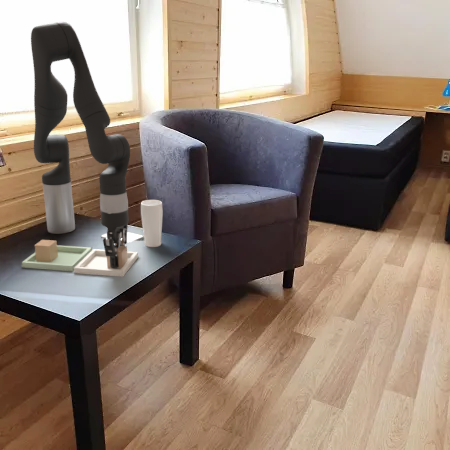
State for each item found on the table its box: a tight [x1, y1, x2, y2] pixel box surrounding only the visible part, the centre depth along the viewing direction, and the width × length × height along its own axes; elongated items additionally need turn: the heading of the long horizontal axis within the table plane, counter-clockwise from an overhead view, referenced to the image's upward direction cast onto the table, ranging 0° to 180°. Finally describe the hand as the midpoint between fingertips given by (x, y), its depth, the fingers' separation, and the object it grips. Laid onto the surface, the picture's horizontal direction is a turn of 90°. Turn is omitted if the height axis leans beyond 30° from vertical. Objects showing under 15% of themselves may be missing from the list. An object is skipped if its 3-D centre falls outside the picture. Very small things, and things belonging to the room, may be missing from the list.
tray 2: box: [73, 248, 139, 278], centre depth 138 cm, size 14×14×2 cm
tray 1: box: [21, 244, 93, 272], centre depth 140 cm, size 14×15×2 cm
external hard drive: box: [100, 231, 144, 243], centre depth 160 cm, size 2×8×12 cm
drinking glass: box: [140, 199, 163, 248], centre depth 151 cm, size 7×7×15 cm
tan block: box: [107, 245, 128, 268], centre depth 136 cm, size 4×4×5 cm
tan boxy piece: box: [34, 239, 58, 262], centre depth 140 cm, size 4×4×5 cm
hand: (117, 263), depth 137 cm, fingers closed on tan block, 4 cm apart
